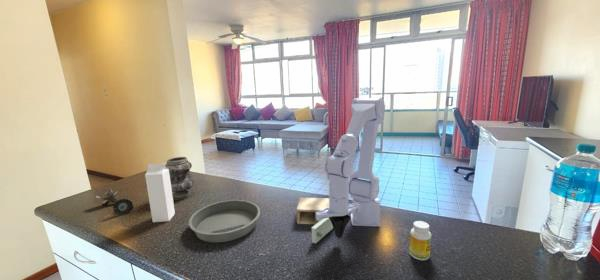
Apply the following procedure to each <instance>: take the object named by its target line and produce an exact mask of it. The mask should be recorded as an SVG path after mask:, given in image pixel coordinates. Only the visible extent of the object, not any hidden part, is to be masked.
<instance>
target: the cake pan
mask: <svg viewBox="0 0 600 280" xmlns="http://www.w3.org/2000/svg"><path fill="white" fill-rule="evenodd" d="M260 214H261V209H260V207H259V206H258V205H257V204H256V203H254V202H251V201H248V200H244V199H230V200H223V201H218V202H214V203H211V204H208V205H206V206H203V207H202V208H200V209H198V210H197V211H195V212H194V213H193V214H192V215H191V216H190V218H189V220H188V227H189V228H190V229H191V231H193V232H194V234H195V235H196V237H197V238H198V239H199V240H201V241H203V242H207V243H224V242H230V241H233V240H236V239H239V238H243V236H245V235H247V234H249V233H250V232H251V231H252V230H253V229H254V228H255V227H256V224H257V221H258V218H259V217H260ZM240 226H241V227H240ZM234 227H239V228H236V229H233V230H228V231H223V232H216V231H220V230H224V229H225V230H226V229H229V228H234Z"/></svg>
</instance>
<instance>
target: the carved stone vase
mask: <svg viewBox="0 0 600 280" xmlns="http://www.w3.org/2000/svg"><path fill="white" fill-rule="evenodd" d="M165 167H166V168H167V169H169V175H170V182H171V189H172V196H173V201H174V200H176V201H177V200H183V199H187V198H190V197H191V196H192V195H193V194H194V191H193V190H191V188H192V187H193V186H194V185H195V179H193V178H192V177H191V172H190V171H191V168H192V163H191V162H190V161H188V157H186V156H177V157H171V158H169V159H167V160H166V164H165Z"/></svg>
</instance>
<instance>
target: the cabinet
mask: <svg viewBox="0 0 600 280" xmlns="http://www.w3.org/2000/svg"><path fill="white" fill-rule="evenodd" d="M297 204H298V205H297V207H296V223H297V225H316V224H317V223H318V222H319V221H318V220H317V219H316V212H319V211H321V210H323V209H325V208H328V207H329V197H299V201H298V203H297Z"/></svg>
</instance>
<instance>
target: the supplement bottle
mask: <svg viewBox="0 0 600 280" xmlns="http://www.w3.org/2000/svg"><path fill="white" fill-rule="evenodd" d="M409 233H410V234H409V246H408V247H409V254H410V256H411V257H412V258H414V259H416V260H419V261H427V260H429V259H430V257H431V247H432V244H431V243H432V233H431V232H430V225H429V223H427V222H426V221H423V220H416V221H413V226H412V228H411V230H410V232H409Z"/></svg>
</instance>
